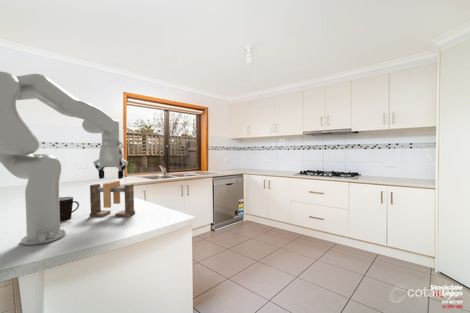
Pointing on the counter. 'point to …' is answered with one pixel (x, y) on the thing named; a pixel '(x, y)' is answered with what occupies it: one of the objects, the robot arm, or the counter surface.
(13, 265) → the counter surface
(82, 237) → the counter surface
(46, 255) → the counter surface
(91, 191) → the rack
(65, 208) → the coffee mug
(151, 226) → the counter surface
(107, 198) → the tan c-shaped bracket
